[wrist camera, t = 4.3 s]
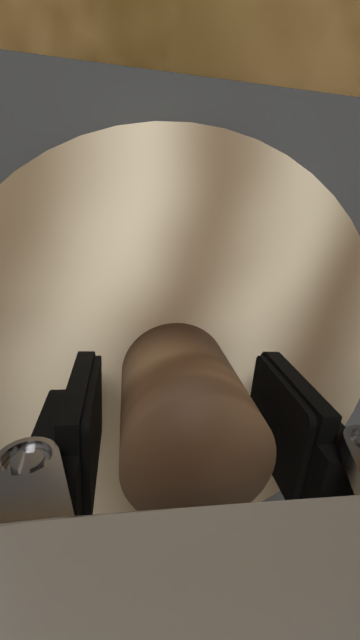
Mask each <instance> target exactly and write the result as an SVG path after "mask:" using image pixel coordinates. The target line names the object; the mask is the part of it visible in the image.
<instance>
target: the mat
mask: <svg viewBox="0 0 360 640" xmlns="http://www.w3.org/2000/svg"><path fill="white" fill-rule="evenodd" d="M150 121H171V122H193V123H198V124H204V125H209V126H215V127H220V128H225V129H228V130H231V131H234V132H237V133H240V134H243V135H246V136H249V137H252V138H254V139H257V140H259V141H261V142H263V143H265V144H267V145H269V146H271V147H273V148H275V149H277V150H278V151H280V152H282V153H284V154H286V155H288V156H289V157H290V158H292V159H293V160H294V161H296V162H297V163H298V164H300V165H301V166H303V167H304V168H305V169H307V170H308V171H309V172H311V173H312V174H313V175H314V176H315V177H316V178H317V179H318V180H319V181H320V182H321V183H322V184H323V185H324V186H325V187H326V188H327V189H328V190H329V191H330V192H331V193H332V194H333V195H334V196H335V198H336V199H337V201H338V202H339V203H340V205H341V206H342V207H343V209H344V210H345V212H346V213H347V214H348V216H349V217H350V219H351V220H352V222H353V224H354V226H355V228H356V230H357V232H358V234H359V236H360V97H353V96H345V95H338V94H330V93H323V92H315V91H308V90H300V89H293V88H285V87H278V86H270V85H263V84H255V83H248V82H240V81H233V80H225V79H218V78H210V77H203V76H196V75H188V74H181V73H173V72H166V71H158V70H151V69H143V68H136V67H128V66H121V65H113V64H106V63H98V62H91V61H83V60H76V59H68V58H61V57H53V56H46V55H38V54H31V53H23V52H16V51H9V50H1V49H0V184H1V183H2V182H3V181H4V180H5V179H7V178H8V177H9V176H10V175H11V174H12V173H13V172H14V171H16V170H17V169H19V168H20V167H22V166H23V165H25V164H27V163H28V162H30V161H31V160H33V159H34V158H36V157H37V156H39V155H41V154H42V153H44V152H45V151H47V150H49V149H51V148H54V147H56V146H58V145H60V144H63V143H65V142H67V141H69V140H72V139H74V138H76V137H78V136H81V135H84V134H88V133H91V132H95V131H99V130H102V129H106V128H109V127H113V126H117V125H125V124H133V123H141V122H150ZM351 425H360V399H359V401H358V403H357V405H356V407H355V409H354V411H353V413H352V415H351V416H350V418H349V419H348V421H347V423H346V424H345V427H348V426H351ZM280 500H285V499H284V497H283V495H282V493H281V491H279V492H277V493H276V494H274V495H273V496H271V497H269V498H267V499H266V500H264V501H262V502H267V501H280Z"/></svg>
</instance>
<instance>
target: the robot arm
mask: <svg viewBox="0 0 360 640" xmlns="http://www.w3.org/2000/svg"><path fill="white" fill-rule="evenodd" d="M250 397H251V398H252V400H253V401H254V403H255V405H256V406H257V408H258V409H259V411H260V413H261V414H262V416H263V418H264V419H265V421H266V422H267V424H268V426H269V427H270V429H271V431H272V433H273V436H274V438H275V443H276V463H275V466H274V470H273V473H272V476H273V478H274V479H275V481H276V483H277V485H278V487H279V489H280V491H281V493H282V495H283V497H284V499H285V500H280V501H267V502H253V503H239V504H225V505H211V506H197V507H183V508H169V509H156V510H144V511H131V512H118V513H105V514H93V507H94V498H95V489H96V480H97V471H98V462H99V453H100V444H101V435H102V358H101V356H96V355H95V351H78V353H77V356H76V359H75V362H74V365H73V368H72V371H71V375H70V378H69V381H68V384H67V387H66V389H61V390H50V391H49V393H48V395H47V397H46V400H45V402H44V405H43V407H42V410H41V412H40V415H39V417H38V420H37V422H36V425H35V427H34V429H33V432H32V434H31V437H26V438H22V439H19V440H16V441H14V442H12V443H10V444H8V445H6V446H5V447H4V448H2V449H1V450H0V640H360V425H351V426H348V427H345V426H344V425H343V424H342V423H341V420H342V416H341V415H340V414H339V413H338V412H337V411H336V410H335V409H334V408H333V406H332V405H331V404H330V403H329V402H328V401H327V400H326V399H325V398H324V397H323V396H322V395H321V394H320V393H319V392H318V391H317V390H316V389H315V388H314V387H313V386H312V385H311V384H310V383H309V382H308V381H307V380H306V379H305V378H304V377H303V376H302V375H301V374H300V373H299V372H298V371H297V370H296V369H295V367H294V366H293V365H292V364H291V363H290V362H289V361H288V360H287V359H286V358H285V357H284V356H283V355H282V354H281V353H280V352H262V354H261V356H257V358H256V363H255V369H254V375H253V382H252V388H251V394H250Z"/></svg>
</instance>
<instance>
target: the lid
mask: <svg viewBox="0 0 360 640" xmlns="http://www.w3.org/2000/svg"><path fill="white" fill-rule="evenodd" d="M78 351H95V355H96V356H101V358H102V435H101V444H100V453H99V462H98V471H97V480H96V489H95V498H94V507H93V514H105V513H118V512H131V511H144V510H156V509H169V508H183V507H197V506H211V505H225V504H239V503H253V502H262V501H264V500H266V499H267V498H269V497H271V496H273V495H274V494H276V493H277V492H279V491H280V489H279V487H278V485H277V483H276V481H275V479H274V478H273V476H272V473H273V470H274V466H275V463H276V443H275V438H274V436H273V433H272V431H271V429H270V427H269V426H268V424H267V422H266V421H265V419H264V418H263V416H262V414H261V413H260V411H259V409H258V408H257V406H256V405H255V403H254V401H253V400H252V398H251V397H250V394H251V388H252V382H253V375H254V369H255V363H256V358H257V356H261V354H262V352H280V353H281V354H282V355H283V356H284V357H285V358H286V359H287V360H288V361H289V362H290V363H291V364H292V365H293V366H294V367H295V369H296V370H297V371H298V372H299V373H300V374H301V375H302V376H303V377H304V378H305V379H306V380H307V381H308V382H309V383H310V384H311V385H312V386H313V387H314V388H315V389H316V390H317V391H318V392H319V393H320V394H321V395H322V396H323V397H324V398H325V399H326V400H327V401H328V402H329V403H330V404H331V405H332V406H333V408H334V409H335V410H336V411H337V412H338V413H339V414H340V415H341V416H342V420H341V423H342V424H343V425H344V426H345V424H346V423H347V421H348V419H349V418H350V416H351V415H352V413H353V411H354V409H355V407H356V405H357V403H358V401H359V399H360V236H359V234H358V232H357V230H356V228H355V226H354V224H353V222H352V220H351V219H350V217H349V216H348V214H347V213H346V212H345V210H344V209H343V207H342V206H341V205H340V203H339V202H338V201H337V199H336V198H335V196H334V195H333V194H332V193H331V192H330V191H329V190H328V189H327V188H326V187H325V186H324V185H323V184H322V183H321V182H320V181H319V180H318V179H317V178H316V177H315V176H314V175H313V174H312V173H311V172H309V171H308V170H307V169H305V168H304V167H303V166H301V165H300V164H298V163H297V162H296V161H294V160H293V159H292V158H290V157H289V156H288V155H286V154H284V153H282V152H280V151H278V150H277V149H275V148H273V147H271V146H269V145H267V144H265V143H263V142H261V141H259V140H257V139H254V138H252V137H249V136H246V135H243V134H240V133H237V132H234V131H231V130H228V129H225V128H220V127H215V126H209V125H204V124H198V123H193V122H171V121H150V122H141V123H133V124H125V125H117V126H113V127H109V128H106V129H102V130H99V131H95V132H91V133H88V134H84V135H81V136H78V137H76V138H74V139H72V140H69V141H67V142H65V143H63V144H60V145H58V146H56V147H54V148H51V149H49V150H47V151H45V152H44V153H42V154H41V155H39V156H37V157H36V158H34V159H33V160H31V161H30V162H28V163H27V164H25V165H23V166H22V167H20V168H19V169H17V170H16V171H14V172H13V173H12V174H11V175H10V176H9V177H8V178H7V179H5V180H4V181H3V182H2V183H1V184H0V450H1V449H2V448H4V447H5V446H6V445H8V444H10V443H12V442H14V441H16V440H19V439H22V438H26V437H31V434H32V432H33V429H34V427H35V425H36V422H37V420H38V417H39V415H40V412H41V410H42V407H43V405H44V402H45V400H46V397H47V395H48V393H49V391H50V390H61V389H66V387H67V384H68V381H69V378H70V375H71V371H72V368H73V365H74V362H75V359H76V356H77V353H78Z"/></svg>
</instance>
